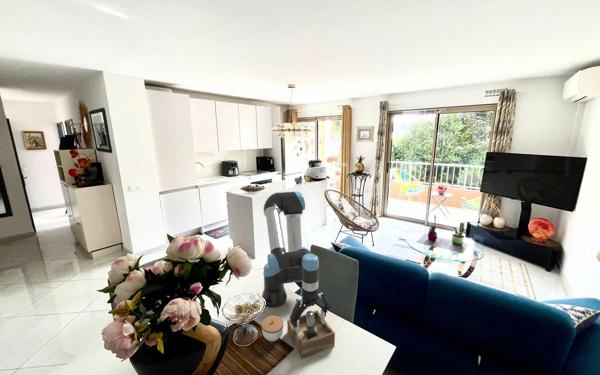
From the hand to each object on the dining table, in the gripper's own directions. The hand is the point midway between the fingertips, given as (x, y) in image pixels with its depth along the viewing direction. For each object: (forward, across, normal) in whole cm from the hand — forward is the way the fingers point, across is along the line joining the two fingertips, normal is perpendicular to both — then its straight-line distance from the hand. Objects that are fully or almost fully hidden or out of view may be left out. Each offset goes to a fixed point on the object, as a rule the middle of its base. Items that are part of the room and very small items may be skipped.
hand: (310, 326), depth 120 cm
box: (+7, 0, 0) cm, 7 cm away
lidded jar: (+7, -16, +9) cm, 20 cm away
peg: (+7, 0, 0) cm, 7 cm away
